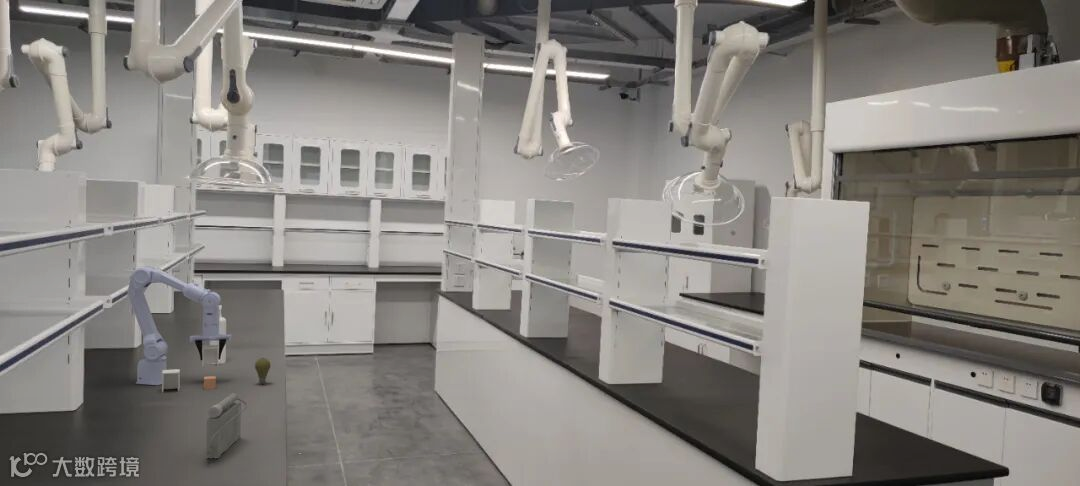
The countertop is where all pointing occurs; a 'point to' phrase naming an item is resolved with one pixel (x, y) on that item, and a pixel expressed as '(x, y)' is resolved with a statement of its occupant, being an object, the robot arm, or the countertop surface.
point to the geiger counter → (223, 425)
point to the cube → (210, 382)
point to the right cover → (210, 354)
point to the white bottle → (221, 331)
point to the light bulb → (262, 369)
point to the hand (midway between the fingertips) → (210, 359)
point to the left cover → (171, 379)
